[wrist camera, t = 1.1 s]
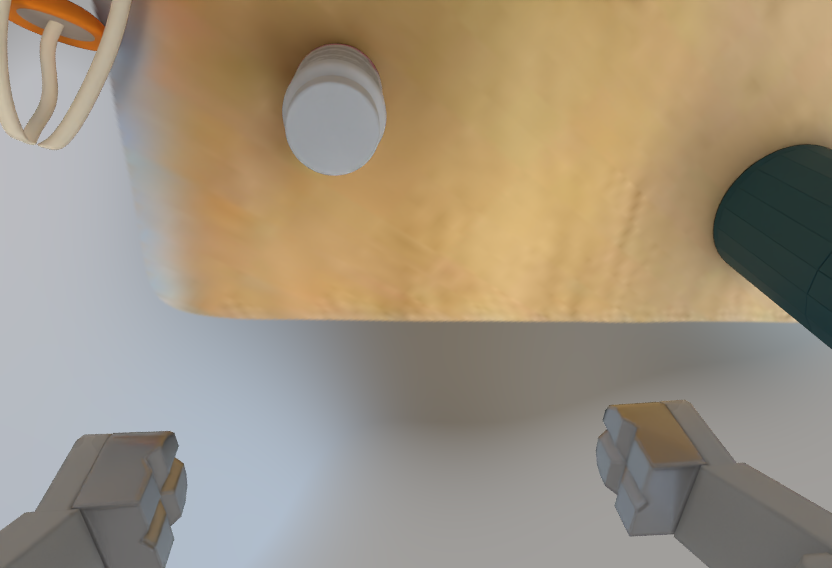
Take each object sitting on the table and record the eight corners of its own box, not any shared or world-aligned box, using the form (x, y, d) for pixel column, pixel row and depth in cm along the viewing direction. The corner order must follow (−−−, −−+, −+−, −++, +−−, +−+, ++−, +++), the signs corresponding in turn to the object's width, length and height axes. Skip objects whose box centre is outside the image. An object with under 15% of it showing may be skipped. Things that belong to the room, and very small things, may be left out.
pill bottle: (280, 56, 29) (256, 89, 22) (366, 30, 29) (370, 55, 22) (311, 142, 32) (299, 196, 25) (391, 119, 32) (402, 167, 24)
